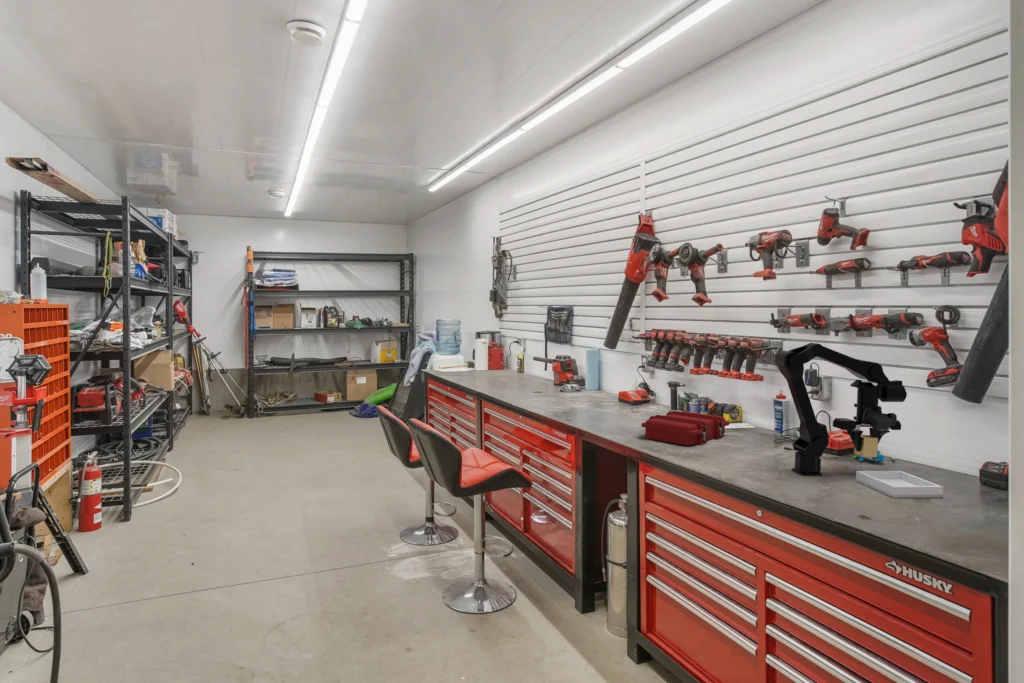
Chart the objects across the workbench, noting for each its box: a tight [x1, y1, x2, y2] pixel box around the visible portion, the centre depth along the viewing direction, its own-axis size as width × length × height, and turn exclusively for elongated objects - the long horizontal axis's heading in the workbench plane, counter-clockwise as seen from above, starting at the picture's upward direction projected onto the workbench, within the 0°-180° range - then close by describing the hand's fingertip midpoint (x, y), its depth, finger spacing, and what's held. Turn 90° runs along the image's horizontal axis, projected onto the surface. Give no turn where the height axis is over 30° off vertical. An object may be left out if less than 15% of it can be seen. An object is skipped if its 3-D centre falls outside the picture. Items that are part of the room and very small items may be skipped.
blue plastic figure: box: [852, 449, 885, 463], centre depth 198 cm, size 11×6×10 cm
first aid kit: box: [640, 410, 730, 446], centre depth 233 cm, size 32×23×9 cm
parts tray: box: [855, 470, 944, 499], centre depth 166 cm, size 14×16×3 cm
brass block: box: [853, 434, 879, 458], centre depth 182 cm, size 4×4×6 cm
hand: (865, 451), depth 182 cm, fingers closed on brass block, 4 cm apart
